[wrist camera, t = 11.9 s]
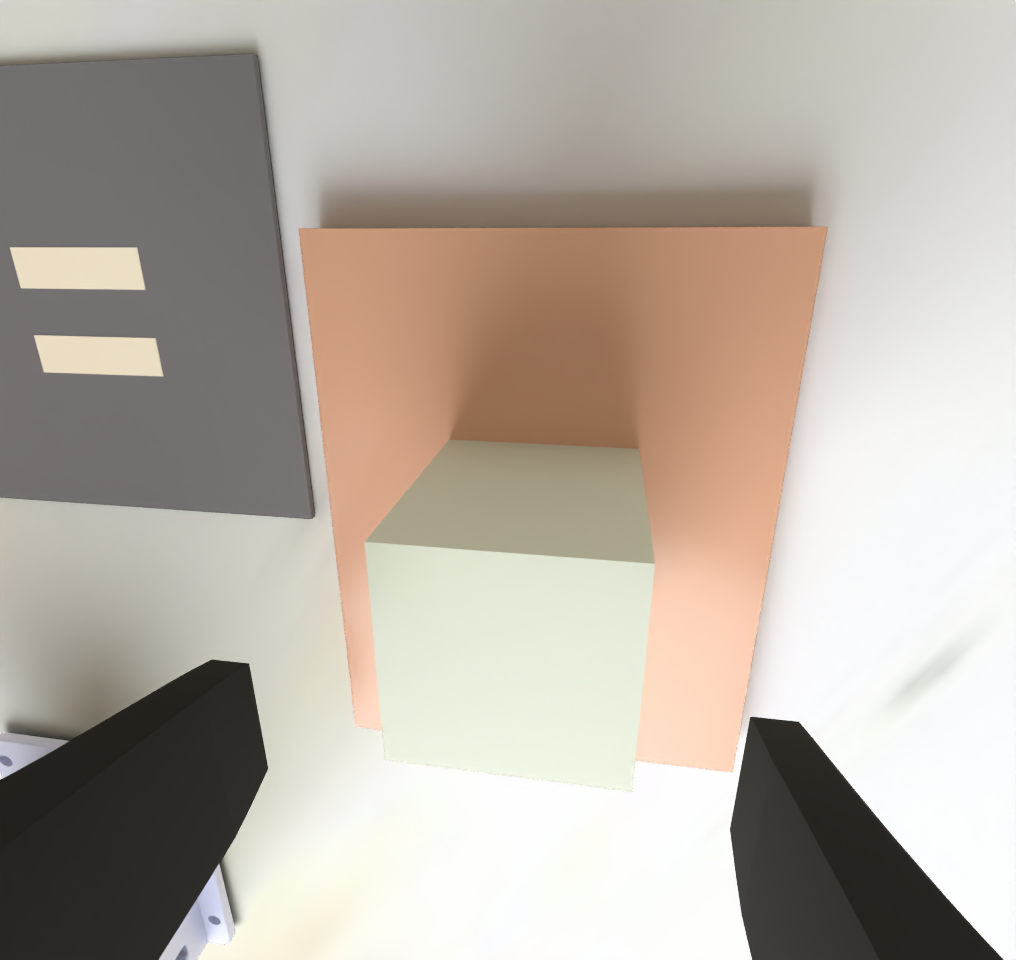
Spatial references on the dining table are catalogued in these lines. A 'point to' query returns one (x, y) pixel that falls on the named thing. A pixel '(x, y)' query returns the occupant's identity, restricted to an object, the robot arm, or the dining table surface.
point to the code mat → (145, 291)
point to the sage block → (515, 612)
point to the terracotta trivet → (579, 412)
